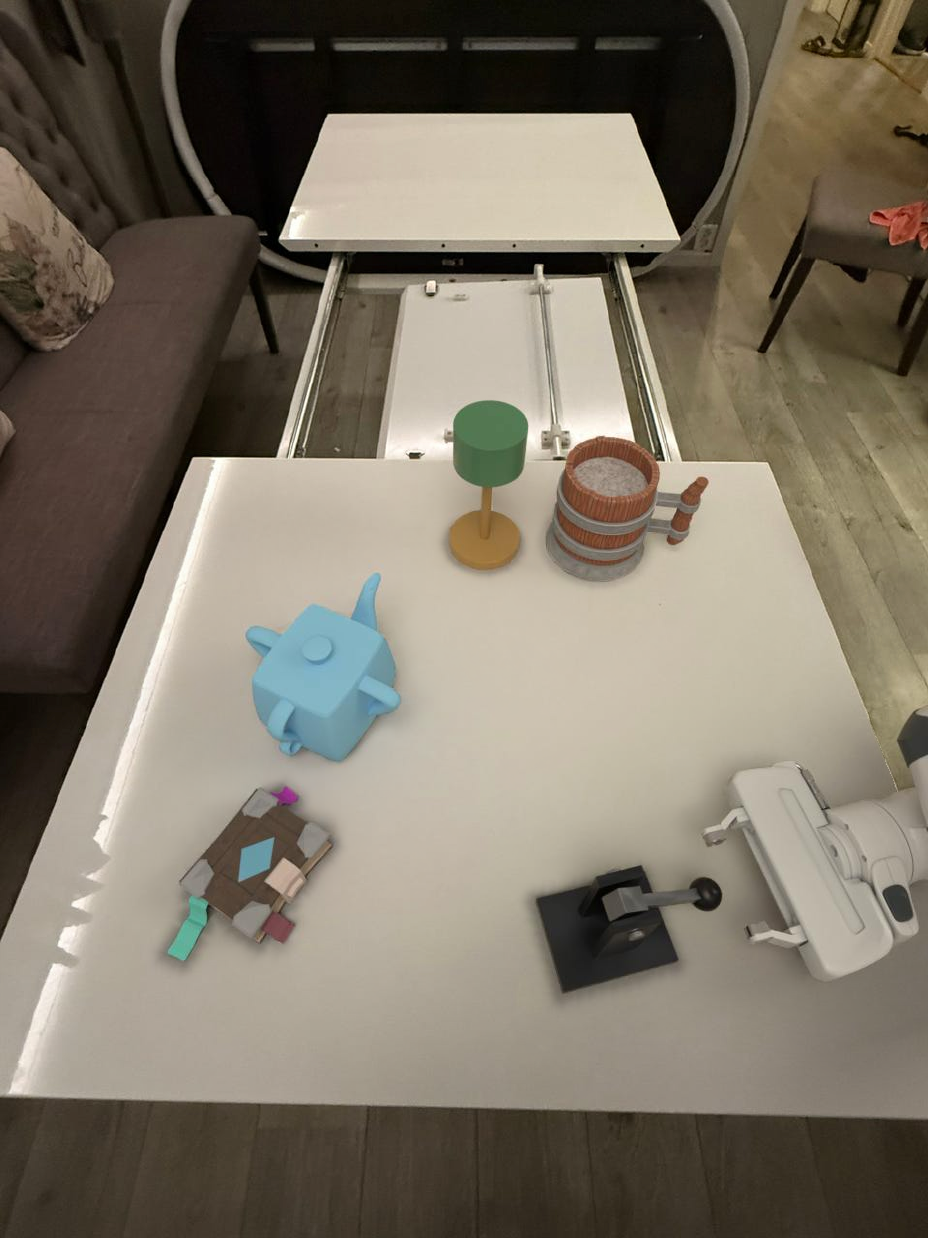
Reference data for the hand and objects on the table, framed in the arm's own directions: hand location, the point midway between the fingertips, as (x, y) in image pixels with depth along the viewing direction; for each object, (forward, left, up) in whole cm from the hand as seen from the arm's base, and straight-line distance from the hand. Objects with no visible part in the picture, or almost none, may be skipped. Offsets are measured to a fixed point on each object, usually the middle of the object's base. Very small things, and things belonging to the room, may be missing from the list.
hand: (725, 885), depth 71 cm
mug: (+47, -14, -7) cm, 50 cm away
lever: (+1, +7, 0) cm, 7 cm away
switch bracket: (+1, +11, -7) cm, 13 cm away
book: (+18, +43, -7) cm, 48 cm away
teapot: (+37, +29, -7) cm, 48 cm away
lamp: (+54, +3, -7) cm, 55 cm away
